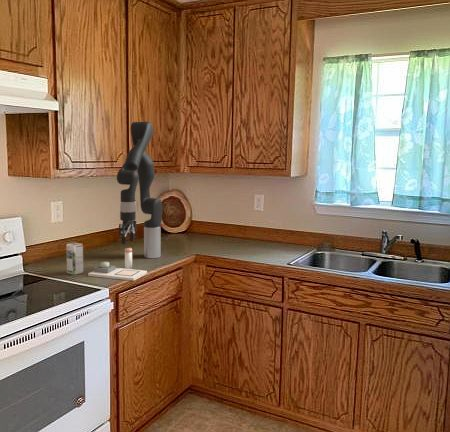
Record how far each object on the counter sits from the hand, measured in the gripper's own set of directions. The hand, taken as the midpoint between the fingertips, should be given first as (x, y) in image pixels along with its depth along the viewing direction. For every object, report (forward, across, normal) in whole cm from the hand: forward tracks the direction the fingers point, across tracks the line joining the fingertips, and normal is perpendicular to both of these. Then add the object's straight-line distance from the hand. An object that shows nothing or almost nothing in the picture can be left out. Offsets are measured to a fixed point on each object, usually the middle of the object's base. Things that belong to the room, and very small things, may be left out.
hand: (127, 242), depth 236 cm
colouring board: (+14, +11, 0) cm, 17 cm away
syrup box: (+14, +15, -21) cm, 29 cm away
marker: (+14, 0, 0) cm, 14 cm away
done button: (+12, +11, -7) cm, 17 cm away
